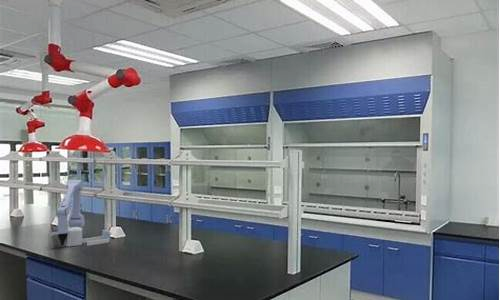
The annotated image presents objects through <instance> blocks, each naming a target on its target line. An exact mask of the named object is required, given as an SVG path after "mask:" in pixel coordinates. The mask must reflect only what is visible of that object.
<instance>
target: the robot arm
mask: <svg viewBox="0 0 500 300" xmlns="http://www.w3.org/2000/svg"><path fill="white" fill-rule="evenodd" d="M65 186H66V192H65V197H63V198H62V200H61V203H60V205H59V207H57V208H56V217H57V231H53V232H50V233H49V235H50V236H51V237H53V236H57V237H58V239H59V241H60V245H61V247H62V246H65V243H66V237H67V233H69V232H71V231H67V229H68V226H69V228H73V227H79V228H82V229H83V228H84V226H85V223H86V221H85V216H84V214H82V213H81V197H82V196H81V195H82V191H83V190H84V182H83V180H82V179H68V180H67V181H66V183H65ZM72 197H73V198H72ZM72 199H73V201H72ZM71 203H72V214H71V215H70V216H69V214H70V206H71ZM68 216H69V218H68ZM82 239H84V238H83V237H82Z"/></svg>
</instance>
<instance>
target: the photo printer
mask: <svg viewBox="0 0 500 300" xmlns="http://www.w3.org/2000/svg"><path fill="white" fill-rule="evenodd" d="M67 231H71V232H69V233H67V237H66V239H65V247H77V246H78V247H79V246H82V245H83V243H82V238H83V227H82V228H79V227H73V228H70V227H69V228H67Z"/></svg>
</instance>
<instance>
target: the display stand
mask: <svg viewBox="0 0 500 300" xmlns="http://www.w3.org/2000/svg"><path fill="white" fill-rule="evenodd" d="M101 231H102V232H101V235H100V236H95V237H94V236H93V237H86V238H83V239H82V244H83V243H84V244H85V243H86V246H94V245H95V246H96V245H100V244H107V243H111V234H112V233H111V231H108V230H106V229H102V230H101Z"/></svg>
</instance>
